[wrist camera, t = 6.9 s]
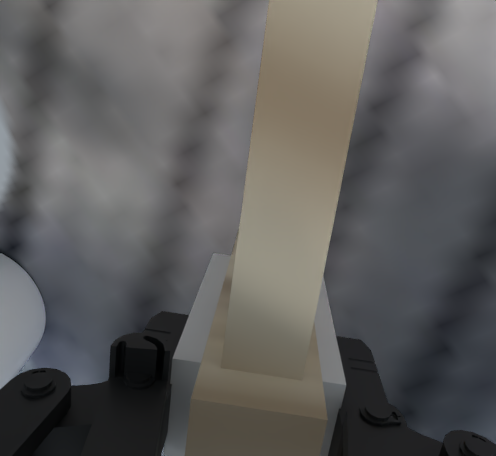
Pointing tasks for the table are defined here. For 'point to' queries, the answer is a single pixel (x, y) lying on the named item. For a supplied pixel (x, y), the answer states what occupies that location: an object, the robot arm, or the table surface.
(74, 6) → the table surface
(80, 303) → the table surface
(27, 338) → the candle holder
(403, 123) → the table surface
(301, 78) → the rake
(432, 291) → the table surface
